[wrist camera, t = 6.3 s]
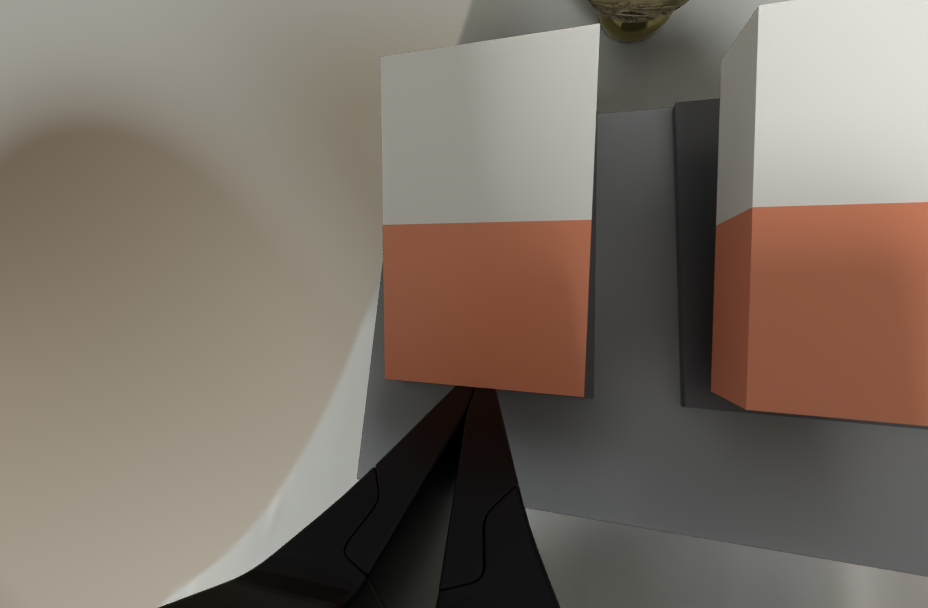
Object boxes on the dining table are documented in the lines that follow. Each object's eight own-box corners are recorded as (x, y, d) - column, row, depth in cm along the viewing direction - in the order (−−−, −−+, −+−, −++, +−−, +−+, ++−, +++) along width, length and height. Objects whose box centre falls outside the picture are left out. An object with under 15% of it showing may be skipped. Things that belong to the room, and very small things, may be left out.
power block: (818, 493, 14) (1094, 619, 7) (429, 441, 18) (350, 487, 11) (791, 203, 16) (981, 69, 9) (449, 213, 20) (394, 127, 13)
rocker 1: (577, 372, 10) (584, 397, 8) (413, 360, 11) (384, 378, 9) (590, 75, 9) (599, 23, 7) (412, 96, 10) (380, 56, 9)
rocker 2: (964, 408, 8) (1103, 441, 6) (703, 387, 9) (745, 409, 7) (975, 42, 8) (1117, -48, 6) (713, 71, 9) (759, 5, 7)
